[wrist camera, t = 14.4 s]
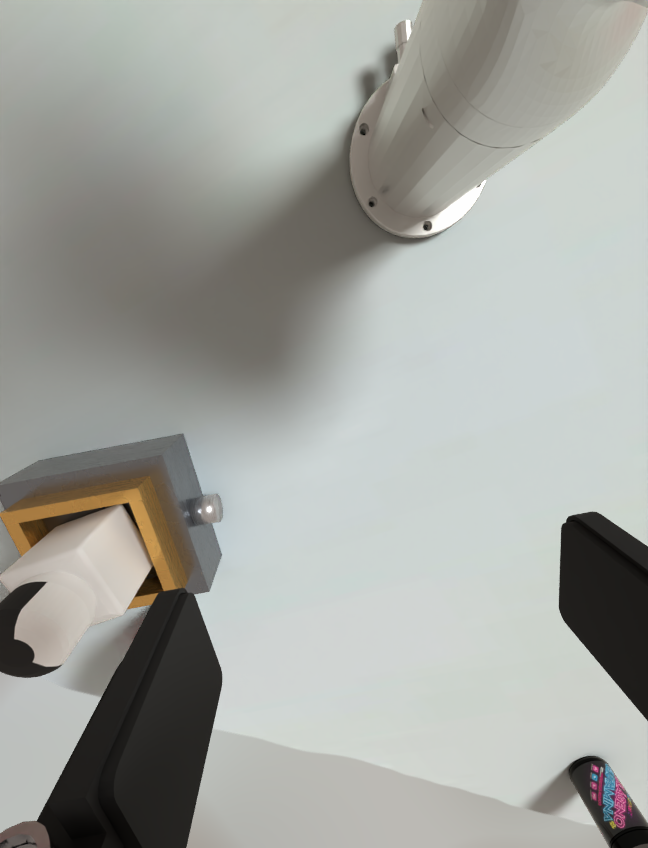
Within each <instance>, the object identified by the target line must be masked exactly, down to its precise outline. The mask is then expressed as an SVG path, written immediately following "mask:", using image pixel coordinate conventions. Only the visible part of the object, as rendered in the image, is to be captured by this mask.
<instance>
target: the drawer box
mask: <svg viewBox="0 0 648 848" xmlns="http://www.w3.org/2000/svg"><path fill="white" fill-rule="evenodd" d="M0 500H1V502H2V504H3V506H4V508H5V510H4V511H3V512H1V513H0V517H1V519H2V520H3V522H4V524H5V526H6V528H7V530H8V532H9V534H10V536H11V538H12V539H13V541H14V543H15V545H16V547H17V549H18V551H19V553H20V555H21V557H22V556H23V555H24V554H25V553H26V552H27V551H29V550H30V549H31V548H32V547H33V546H34V545H35V544H37V543H38V542H39V541H40V540H41V539H42V538H44V537H45V536H46V535H47V534H48V533H49V532H50V531H52V530H53V529H54V528H55V527H56V526H59V525H62V524H64V523H67V522H70V521H73V520H75V519H78V518H81V517H84V516H86V515H89V514H92V513H95V512H98V511H100V510H103V509H106V508H109V507H111V506H114V505H118V504H122V505H123V506H124V507H125V509H126V511H127V512H128V514H129V516H130V517H131V519H132V520H133V522H134V524H135V525H136V527H137V528H138V530H139V532H140V533H141V535H142V537H143V539H144V542H145V544H146V547H147V549H148V552H149V555H150V557H151V560H152V562H153V567H152V568H151V570H150V572H149V573H148V575H147V577H146V578H145V580H144V582H143V583H142V585H141V587H140V588H139V590H138V592H137V593H136V595H135V597H134V598H133V600H132V602H131V603H130V605H129V607H128V609H131V608H136V607H141V606H147V605H152V603H153V601H154V600H155V598H156V596H157V595H158V593H160V592H162V591H167V590H173V589H178V588H185V589H186V590H187V592H188V593H193V594H199V593H204V592H209V591H210V588H211V585H212V582H213V580H214V577H215V574H216V571H217V568H218V565H219V562H220V559H221V556H222V554H221V551H220V548H219V544H218V541H217V538H216V535H215V532H214V529H213V526H212V523H216V522H220V521H221V520H222V516H223V507H222V502H221V499H220V497H219V495H218V494H212V495H207V496H203V494H202V491H201V488H200V485H199V482H198V479H197V475H196V472H195V469H194V466H193V463H192V460H191V457H190V453H189V450H188V447H187V444H186V441H185V438H184V435H183V434H179V435H173V436H168V437H163V438H157V439H152V440H147V441H141V442H136V443H130V444H125V445H120V446H114V447H109V448H104V449H98V450H93V451H88V452H82V453H77V454H72V455H66V456H61V457H56V458H50V459H45V460H39V461H37V462H36V463H34V464H32V465H30V466H28V467H27V468H25V469H23V470H21V471H20V472H18V473H16V474H14V475H12V476H11V477H9V478H7V479H5V480H3V481H2V482H0Z"/></svg>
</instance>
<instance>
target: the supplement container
mask: <svg viewBox="0 0 648 848" xmlns="http://www.w3.org/2000/svg"><path fill="white" fill-rule="evenodd" d="M569 775H570V779H571V781H572V783H573V785H574V786H575V788H576V790H577V792H578V793H579V795H580V797H581V799H582V800H583V802H584V804H585V806H586V807H587V809H588V811H589V813H590V814H591V816H592V818H593V820H594V821H595V823H596V825H597V827H598V828H599V830H600V832H601V834H602V835H603V837H604V839H605V841H606V842H607V844H608V846H609V847H610V848H648V823H647V821H646V820H645V818H644V817H643V815H642V814H641V812H640V811H639V809H638V808H637V806H636V805H635V803H634V802H633V800H632V799H631V797H630V796H629V794H628V793H627V791H626V790H625V788H624V787H623V785H622V784H621V782H620V781H619V779H618V778H617V776H616V775H615V773H614V772H613V770H612V769H611V767H610V766H609V765H608V763H607V762H606V761H605V760H603V759H602V758H600V757H596V756H588V757H584V758H581V759H579V760H577V761H576V762H575V763H574V764H573V765H572V766H571V768H570V772H569Z"/></svg>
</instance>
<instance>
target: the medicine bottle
mask: <svg viewBox="0 0 648 848" xmlns="http://www.w3.org/2000/svg"><path fill="white" fill-rule="evenodd" d="M152 567H153V562H152V560H151V557H150V555H149V552H148V549H147V547H146V544H145V542H144V539H143V537H142V535H141V533H140V532H139V530H138V528H137V527H136V525H135V524H134V522H133V520H132V519H131V517H130V516H129V514H128V512H127V511H126V509H125V507H124V506H123V505H122V504H118V505H114V506H111V507H109V508H106V509H103V510H100V511H98V512H95V513H92V514H89V515H86V516H84V517H81V518H78V519H75V520H73V521H70V522H67V523H64V524H62V525H59V526H56V527H55V528H54V529H53V530H52V531H50V532H49V533H48V534H47V535H46V536H45V537H44V538H42V539H41V540H40V541H39V542H38V543H37V544H35V545H34V546H33V547H32V548H31V549H30V550H29V551H27V552H26V553H25V554H24V555H23V556H22V557H20V558H19V559H18V560H17V561H16V562H15V563H14V564H12V565H11V566H10V567H9V568H8V569H7V570H5V571H4V572H3V573H2V574H1V575H0V581H1V582H2V583H3V584H4V586H5V587H6V588H7V589H8V591H9V592H10V594H9V595H8V596H7V597H6V598H5V599H4V600H3V601H2V602H1V603H0V672H2V673H5V674H8V675H11V676H16V677H24V678H31V677H38V676H42V675H45V674H48V673H50V672H52V671H54V670H56V669H58V668H59V667H60V666H61V665H62V664H63V663H64V662H65V661H66V659H67V658H68V656H69V655H70V654H71V652H72V651H73V649H74V648H75V646H76V645H77V643H78V642H79V640H80V639H81V637H82V636H83V634H84V633H85V632H86V630H87V629H88V627H90V626H93V625H96V624H99V623H102V622H105V621H108V620H111V619H113V618H116V617H119V616H122V615H123V614H124V613H125V612H126V610H127V609H128V607H129V605H130V603H131V602H132V600H133V598H134V597H135V595H136V593H137V592H138V590H139V588H140V587H141V585H142V583H143V582H144V580H145V578H146V577H147V575H148V573H149V572H150V570H151V568H152Z"/></svg>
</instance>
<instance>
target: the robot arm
mask: <svg viewBox="0 0 648 848" xmlns="http://www.w3.org/2000/svg"><path fill="white" fill-rule="evenodd" d="M647 13H648V0H423V2H422V4H421V7H420V10H419V12H418V15H417V18H416V20H415V23H414V25H413V26H412V22H411V21H410V20H405V21H402V22H400V23H399V24H398V25H396V27H395V29H394V33H395V44H396V52H397V56H398V64H396V65H395V66H394V68H393V71H392V74H391V76H390V79H389V80H387V81H386V82H384V83H383V84H382V85H381V86H380V87H379V88H378V89H377V90H376V91H375V92H374V93H373V94H372V95H371V97H370V98H369V100H368V101H367V103H366V104H365V106H364V107H363V109H362V111H361V113H360V116H359V118H358V120H357V122H356V125H355V129H354V132H353V136H352V141H351V146H350V158H349V168H350V175H351V182H352V185H353V188H354V192H355V195H356V197H357V199H358V201H359V203H360V205H361V207H362V209H363V210H364V211H365V212H366V214H367V215H368V216H369V218H370V219H371V220H372V221H373V222H375V223H376V224H377V225H378V226H379V227H380V228H382V229H384V230H386V231H387V232H389V233H391V234H394V235H397V236H400V237H404V238H423V237H429V236H432V235H435V234H438V233H440V232H442V231H444V230H446V229H448V228H450V227H451V226H452V225H454V224H455V223H456V222H458V221H459V220H461V219H462V218H463V217H464V216H465V214H466V213H467V212H468V211H469V210H470V209H471V208H472V206H473V205H474V204H475V202H476V201H477V199H478V198H479V196H480V194H481V192H482V190H483V188H484V186H485V183H486V180H487V179H488V178H489V177H491V176H492V175H493V174H495V173H496V172H498V171H499V170H500V169H502V168H503V167H504V166H506V165H507V164H509V163H510V162H511V161H513V160H514V159H516V158H517V157H518V156H520V155H521V154H522V153H524V152H525V151H527V150H528V149H529V148H531V147H532V146H533V145H535V144H536V143H538V142H539V141H540V140H542V139H543V138H544V137H546V136H547V135H549V134H550V133H551V132H553V131H554V130H555V129H557V128H558V127H559V126H560V125H562V124H563V123H564V122H566V121H567V120H568V119H570V118H571V117H572V116H574V115H575V114H576V113H577V112H578V111H580V110H581V109H582V108H583V107H584V106H585V105H586V104H587V103H588V102H590V101H591V100H592V98H593V97H594V96H595V95H596V94H597V93H598V92H599V91H600V90H601V89H602V88H603V86H604V85H605V84H606V83H607V82H608V80H609V79H610V78H611V76H612V75H613V74H614V72H615V71H616V69H617V68H618V66H619V65H620V63H621V62H622V60H623V59H624V57H625V56H626V54H627V53H628V51H629V49H630V47H631V46H632V44H633V42H634V40H635V39H636V37H637V35H638V33H639V31H640V29H641V26H642V24H643V22H644V20H645V18H646V15H647ZM361 131H364V132H365V136H364V135H361V134H360V132H361ZM369 202H372V203H373V204H374V206H373V207H370V206H369ZM423 225H425V226H426V227H427V230H426V231H425V230H424V229H423ZM559 610H560V613H561V616H562V618H563V620H564V621H565V623H566V624H567V625H568V627H569V628H570V629H571V630H572V631H573V632H574V634H575V635H576V636H577V637H578V638H579V640H580V641H581V642H582V643H583V644H584V646H585V647H586V648H587V649H588V650H589V651H590V653H591V654H592V655H593V656H594V657H595V659H596V660H597V661H598V662H599V663H600V665H601V666H602V667H603V668H604V669H605V671H606V672H607V673H608V674H609V675H610V676H611V678H612V679H613V680H614V681H615V682H616V684H617V685H618V686H619V687H620V688H621V690H622V691H623V692H624V693H625V694H626V696H627V697H628V698H629V699H630V700H631V701H632V703H633V704H634V705H635V706H636V707H637V709H638V710H639V711H640V712H641V713H642V715H643V716H644V717H645V718H646V719H647V721H648V546H646V545H645V544H643V543H642V542H640V541H639V540H637V539H636V538H634V537H633V536H632V535H630V534H629V533H627V532H626V531H624V530H623V529H621V528H620V527H618V526H617V525H615V524H614V523H613V522H611V521H610V520H608V519H607V518H605V517H604V516H602V515H601V514H599V513H597V512H588V513H582V514H577V515H572V516H569V517H568V518H567V520H566V523H564V524H563V525H562V528H561V555H560V587H559ZM221 687H222V671H221V667H220V665H219V662H218V659H217V656H216V653H215V651H214V648H213V645H212V642H211V640H210V637H209V634H208V631H207V629H206V626H205V623H204V620H203V618H202V615H201V612H200V609H199V607H198V604H197V601H196V598H195V596H194V594H193V593H188V592H187V590H186V589H185V588H178V589H173V590H167V591H162V592H160V593H158V595H157V596H156V598H155V600H154V601H153V603H152V605H151V607H150V609H149V611H148V613H147V615H146V617H145V619H144V621H143V623H142V625H141V626H140V628H139V630H138V632H137V634H136V636H135V638H134V640H133V642H132V644H131V646H130V648H129V649H128V651H127V653H126V655H125V657H124V659H123V661H122V662H121V663H120V665H119V666H118V668H117V669H116V671H115V673H114V675H113V677H112V679H111V681H110V682H109V684H108V686H107V688H106V690H105V692H104V694H103V696H102V698H101V700H100V701H99V703H98V705H97V707H96V709H95V711H94V713H93V715H92V717H91V719H90V721H89V723H88V724H87V726H86V728H85V730H84V732H83V734H82V736H81V738H80V740H79V741H78V743H77V745H76V747H75V749H74V751H73V753H72V755H71V757H70V759H69V761H68V762H67V764H66V766H65V768H64V770H63V772H62V774H61V776H60V778H59V780H58V782H57V783H56V785H55V787H54V789H53V791H52V793H51V795H50V797H49V799H48V801H47V803H46V804H45V806H44V808H43V810H42V812H41V814H40V816H39V818H38V820H37V821H29V822H22V823H20V824H17V825H15V826H12V827H10V828H8V829H6V830H5V831H3V832H2V833H0V848H186V846H187V842H188V837H189V832H190V828H191V823H192V819H193V815H194V810H195V805H196V800H197V796H198V792H199V787H200V783H201V778H202V774H203V769H204V764H205V759H206V755H207V751H208V746H209V742H210V737H211V733H212V728H213V724H214V719H215V715H216V710H217V706H218V701H219V696H220V692H221Z"/></svg>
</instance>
